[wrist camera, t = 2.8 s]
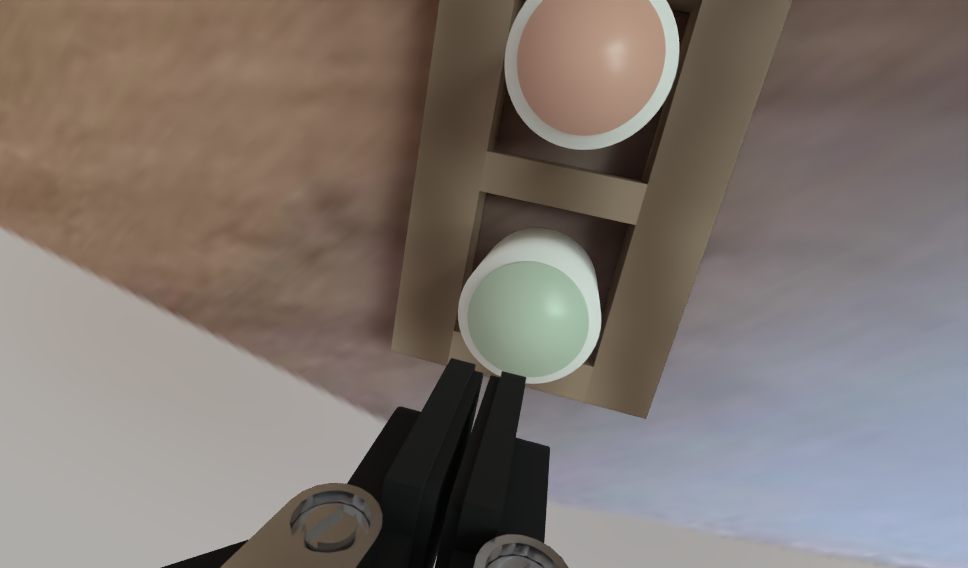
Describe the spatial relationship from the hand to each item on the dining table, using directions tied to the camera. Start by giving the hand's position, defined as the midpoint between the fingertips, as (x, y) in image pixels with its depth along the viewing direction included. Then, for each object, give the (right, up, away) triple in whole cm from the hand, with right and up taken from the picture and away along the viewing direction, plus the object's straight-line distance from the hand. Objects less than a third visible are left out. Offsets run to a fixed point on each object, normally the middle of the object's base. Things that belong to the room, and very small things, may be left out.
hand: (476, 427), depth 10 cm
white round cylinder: (+2, +3, +9) cm, 10 cm away
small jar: (+4, +11, +7) cm, 13 cm away
